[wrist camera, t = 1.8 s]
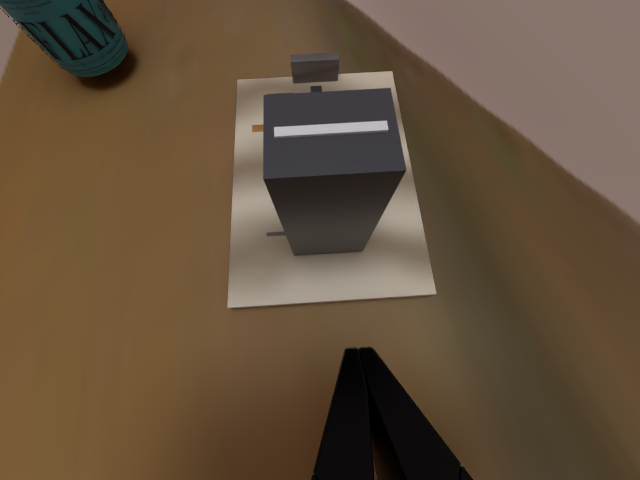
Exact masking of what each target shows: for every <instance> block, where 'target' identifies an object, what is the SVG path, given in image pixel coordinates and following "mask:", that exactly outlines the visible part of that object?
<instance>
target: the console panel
mask: <svg viewBox="0 0 640 480" xmlns="http://www.w3.org/2000/svg"><path fill="white" fill-rule="evenodd" d="M290 56H291V68H292V77H280V78H263V79H245V80H238V84H237V107H236V129H235V152H234V174H233V197H232V219H231V241H230V264H229V286H228V308H231V309H236V308H251V307H266V306H281V305H297V304H312V303H327V302H342V301H357V300H372V299H387V298H402V297H417V296H431V295H435V294H436V290H435V285H434V280H433V275H432V270H431V265H430V260H429V255H428V250H427V245H426V240H425V235H424V229H423V224H422V219H421V214H420V209H419V204H418V199H417V194H416V189H415V184H414V179H413V174H412V169H411V164H410V159H409V154H408V149H407V144H406V139H405V134H404V129H403V124H402V119H401V114H400V109H399V104H398V99H397V94H396V89H395V84H394V79H393V74H392V71H387V72H370V73H352V74H338V71H339V53H320V54H302V55H290ZM378 88H391V92H392V97H393V103H394V108H395V113H396V118H397V123H398V129H399V134H400V139H401V144H402V149H403V155H404V160H405V165H406V172H405V174H404V176H403V178H402V180H401V181H400V183H399V185H398V187H397V189H396V191H395V193H394V194H393V196H392V198H391V200H390V202H389V204H388V205H387V207H386V209H385V211H384V213H383V215H382V217H381V218H380V220H379V222H378V224H377V226H376V228H375V230H374V231H373V233H372V235H371V237H370V239H369V241H368V242H367V244H366V246H365V248H364V250H363V251H357V252H341V253H326V254H310V255H295V256H294V254H293V252H292V249H291V247H290V244H289V242H288V239H287V237H286V234H285V232H284V229H283V227H282V225H281V222H280V220H279V217H278V215H277V212H276V210H275V207H274V205H273V202H272V200H271V197H270V195H269V192H268V190H267V187H266V185H265V182H264V180H263V95H272V94H290V93H307V92H325V91H342V90H360V89H378Z"/></svg>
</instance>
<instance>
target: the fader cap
mask: <svg viewBox="0 0 640 480" xmlns="http://www.w3.org/2000/svg"><path fill="white" fill-rule="evenodd" d="M405 172H406V165H405V160H404V155H403V149H402V144H401V139H400V134H399V129H398V123H397V118H396V113H395V108H394V103H393V97H392V92H391V88H378V89H360V90H342V91H325V92H307V93H290V94H272V95H263V180H264V182H265V185H266V187H267V190H268V192H269V195H270V197H271V200H272V202H273V205H274V207H275V210H276V212H277V215H278V217H279V220H280V222H281V225H282V227H283V229H284V232H285V234H286V237H287V239H288V242H289V244H290V247H291V249H292V252H293V254H294V256H295V255H310V254H326V253H341V252H357V251H363V250H364V248H365V246H366V244H367V242H368V241H369V239H370V237H371V235H372V233H373V231H374V230H375V228H376V226H377V224H378V222H379V220H380V218H381V217H382V215H383V213H384V211H385V209H386V207H387V205H388V204H389V202H390V200H391V198H392V196H393V194H394V193H395V191H396V189H397V187H398V185H399V183H400V181H401V180H402V178H403V176H404V174H405Z"/></svg>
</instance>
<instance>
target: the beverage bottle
mask: <svg viewBox="0 0 640 480" xmlns="http://www.w3.org/2000/svg"><path fill="white" fill-rule="evenodd" d="M0 6H1V7H2V8H3V9H4V10H5V11H6V12H7V13H8V14H9V15H10V16H11V17H12V18H13V19H14V20H13V21H16V22H17V24H19V25H20V26H21V27H22V30H23V29H24V30H25V31H26V32H27V33H28V34H29V35H30V36H31V37H32V38H33V39H34V41H33V40H32V41H33V42H35V41H36V42H37V44H39V45H40V46H41V47H42V48H43V50H45V51H46V52H47V53H48V54H49V55H50V56H51V59H52V58H53V59H54V60H55V61H56V62H57V63H58V64H59V65H60V66H61V67H62V68H63V69H65V70H67V71H68V72H70V73H72V74H74V75H76V76H81V77H92V76H98V75H101V74H104V73H106V72H108V71H110V70H112V69H114V68H115V67H116V66H117V65H119V64H120V63H121V62H122V60H123V59H124V58H125V56H126V54H127V50H128V45H127V41H126V39H125V34H123V33H122V30H120V28H121V27H120V28H119V27H118V25H117V22H116V19H114V18H115V17H113V16H112V15H113V14H112V13H110V12H111V11H109V10H108V9H109V8H107V7H106V6H107V5H105V2H104V1H103V0H0ZM8 17H9V16H8ZM112 17H113V18H112ZM114 20H115V21H114ZM118 24H119V23H118ZM119 26H120V25H119ZM19 28H20V27H19ZM123 32H124V31H123ZM24 33H25V32H24ZM28 34H27V35H28ZM29 35H28V37H29ZM29 38H30V37H29ZM32 38H31V39H32ZM35 44H36V43H35ZM37 44H36V45H37ZM41 47H40V48H41ZM42 48H41V49H42ZM43 50H42V51H43ZM48 54H46V55H48ZM53 62H54V61H53Z"/></svg>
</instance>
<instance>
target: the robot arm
mask: <svg viewBox="0 0 640 480" xmlns="http://www.w3.org/2000/svg"><path fill="white" fill-rule="evenodd" d="M373 461H374V465H375V469H376V473H377V478H378V480H473V479H472V478H471V476H470V475H469V474H468V472H467V471H466V470H465V468H464V467H463V466H461V467H460V462H459V461H458V459H457V458H456V457H455V455H454V454H453V453H452V451H451V450H450V449H449V447H448V446H447V445H446V444H445V442H444V441H443V440H442V438H441V437H440V436H439V434H438V433H437V432H436V430H435V429H434V428H433V426H432V425H431V424H430V422H429V421H428V420H427V418H426V417H425V416H424V415H423V413H422V412H421V411H420V409H419V408H418V407H417V405H416V404H415V403H414V401H413V400H412V399H411V397H410V396H409V395H408V393H407V392H406V391H405V390H404V388H403V387H402V386H401V384H400V383H399V382H398V380H397V379H396V378H395V376H394V375H393V374H392V372H391V371H390V370H389V368H388V367H387V366H386V365H385V363H384V362H383V361H382V359H381V358H380V357H379V355H378V354H377V353H376V351H375V350H374V349H373V348H372V347H360V348H359V349H358V348H346V349H345V350H344V354H343V358H342V362H341V366H340V370H339V373H338V377H337V381H336V385H335V389H334V393H333V397H332V401H331V405H330V409H329V412H328V416H327V420H326V424H325V428H324V432H323V436H322V440H321V444H320V448H319V451H318V455H317V459H316V463H315V467H314V471H313V473H314V475H312V478H311V480H374V467H373Z"/></svg>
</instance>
